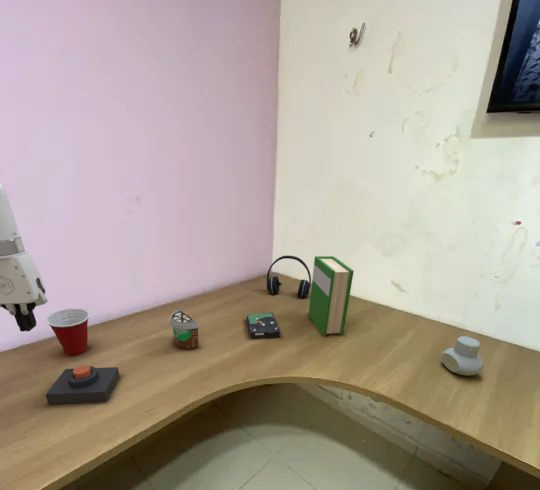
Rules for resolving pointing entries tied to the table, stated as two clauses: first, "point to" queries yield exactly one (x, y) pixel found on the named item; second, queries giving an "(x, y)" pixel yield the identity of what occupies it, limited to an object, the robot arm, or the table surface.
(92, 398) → the button base
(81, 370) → the push button
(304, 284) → the headphones
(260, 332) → the disk drive
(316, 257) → the hardback book
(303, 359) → the table surface
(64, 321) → the plastic cup
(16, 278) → the robot arm
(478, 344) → the air freshener
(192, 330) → the food container
